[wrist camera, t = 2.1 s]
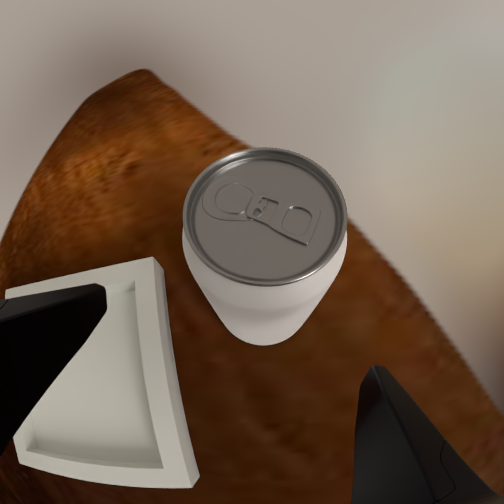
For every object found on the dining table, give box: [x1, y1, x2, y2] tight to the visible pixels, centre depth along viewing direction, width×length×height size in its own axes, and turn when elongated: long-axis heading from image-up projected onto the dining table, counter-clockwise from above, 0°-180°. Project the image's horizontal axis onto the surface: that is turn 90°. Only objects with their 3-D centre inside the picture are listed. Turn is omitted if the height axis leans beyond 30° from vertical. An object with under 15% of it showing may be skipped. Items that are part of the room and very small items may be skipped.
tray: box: [5, 257, 200, 488], centre depth 17 cm, size 16×16×2 cm
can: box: [182, 147, 347, 345], centre depth 15 cm, size 6×6×12 cm
